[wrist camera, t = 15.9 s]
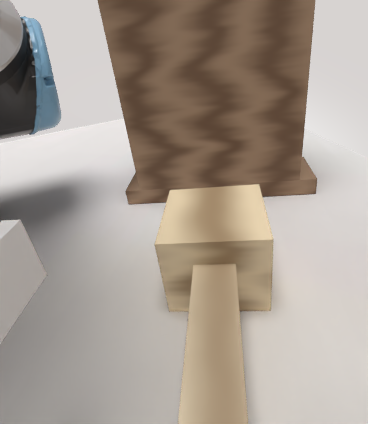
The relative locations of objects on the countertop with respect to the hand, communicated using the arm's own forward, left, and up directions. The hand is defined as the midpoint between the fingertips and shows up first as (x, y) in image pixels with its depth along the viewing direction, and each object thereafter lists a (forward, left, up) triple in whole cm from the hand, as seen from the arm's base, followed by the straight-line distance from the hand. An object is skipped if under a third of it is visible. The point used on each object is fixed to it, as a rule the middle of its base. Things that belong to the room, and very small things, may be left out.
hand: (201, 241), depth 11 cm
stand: (0, +29, -13) cm, 32 cm away
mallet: (0, +5, -13) cm, 14 cm away
